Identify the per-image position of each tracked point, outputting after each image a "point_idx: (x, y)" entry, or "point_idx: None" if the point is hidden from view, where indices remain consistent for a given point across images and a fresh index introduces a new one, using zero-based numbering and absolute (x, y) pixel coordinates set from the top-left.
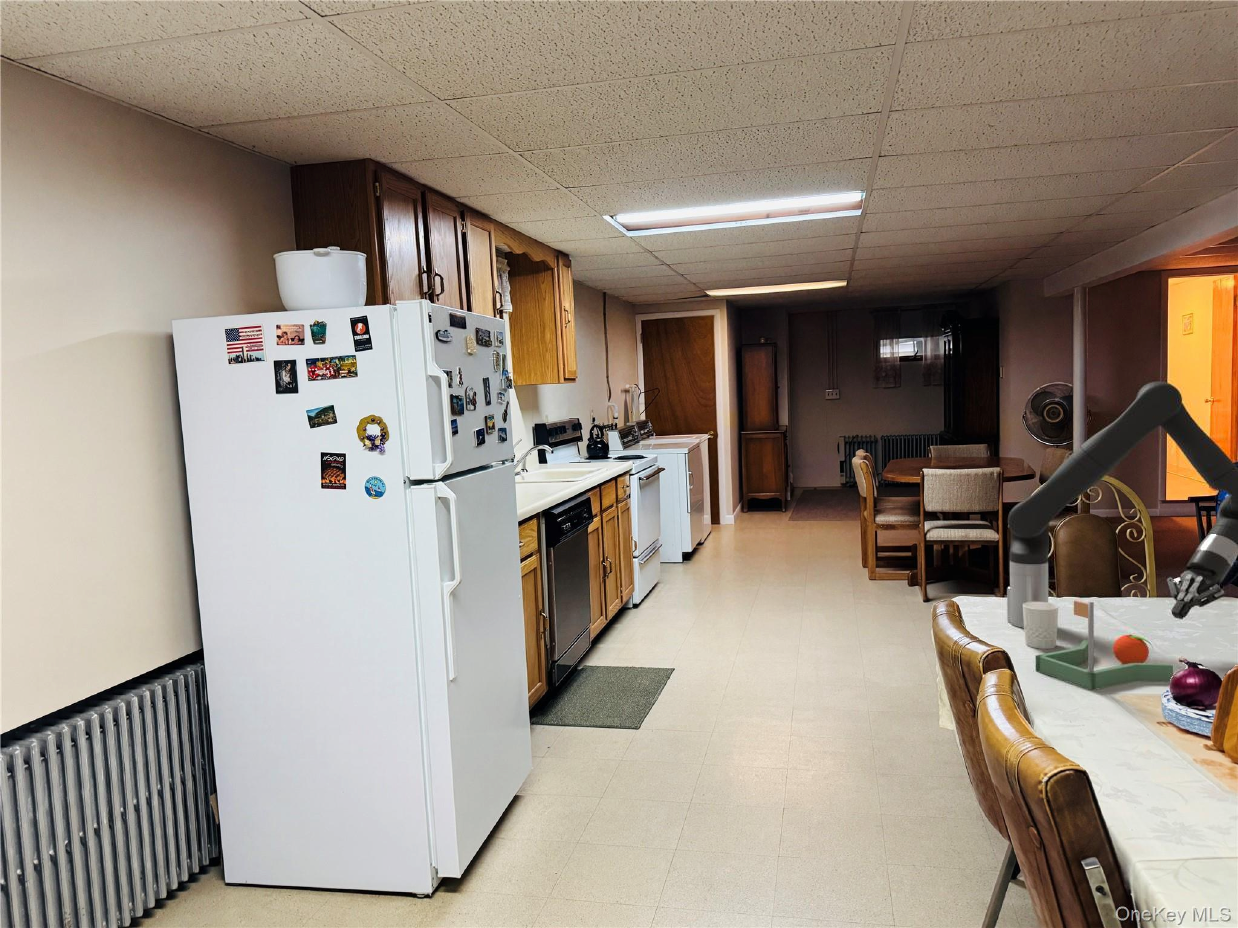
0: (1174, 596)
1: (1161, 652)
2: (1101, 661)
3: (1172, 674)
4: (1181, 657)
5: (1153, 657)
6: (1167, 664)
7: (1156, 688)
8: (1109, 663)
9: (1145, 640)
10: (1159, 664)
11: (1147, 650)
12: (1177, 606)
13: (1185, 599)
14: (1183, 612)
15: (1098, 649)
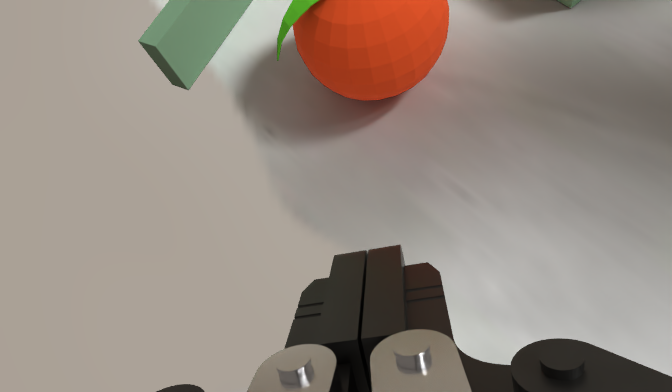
0: (528, 358)
1: (515, 350)
2: (466, 5)
3: (160, 65)
4: None
5: (445, 236)
6: (157, 31)
7: (160, 4)
8: None
9: (293, 4)
10: (172, 7)
11: (300, 47)
12: (379, 287)
13: (318, 359)
14: (304, 296)
15: (655, 88)
